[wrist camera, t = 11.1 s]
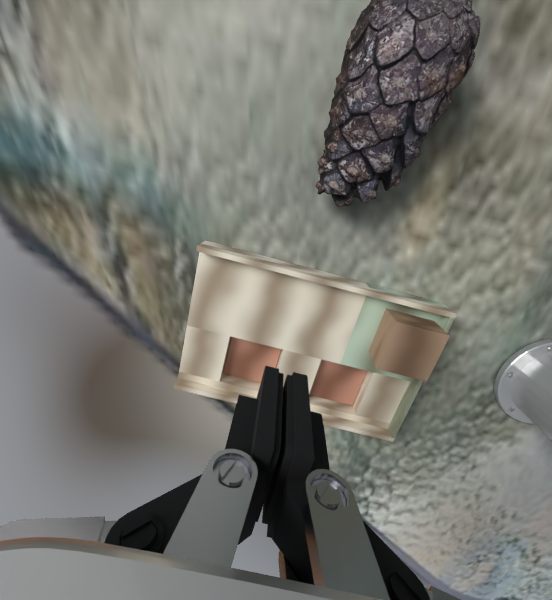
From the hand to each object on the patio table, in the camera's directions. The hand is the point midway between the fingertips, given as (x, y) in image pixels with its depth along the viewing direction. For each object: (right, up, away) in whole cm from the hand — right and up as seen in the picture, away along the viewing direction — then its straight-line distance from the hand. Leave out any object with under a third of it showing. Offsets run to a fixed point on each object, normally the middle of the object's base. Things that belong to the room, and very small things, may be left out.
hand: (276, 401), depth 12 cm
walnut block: (+15, 0, +26) cm, 30 cm away
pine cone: (+10, +23, +20) cm, 32 cm away
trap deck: (+4, -1, +29) cm, 29 cm away
